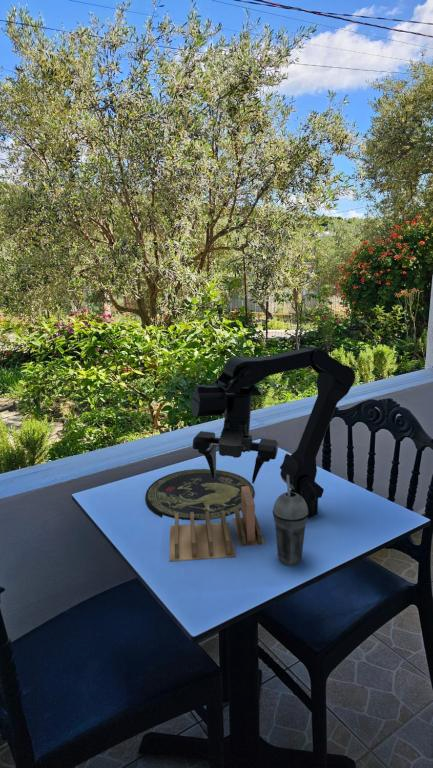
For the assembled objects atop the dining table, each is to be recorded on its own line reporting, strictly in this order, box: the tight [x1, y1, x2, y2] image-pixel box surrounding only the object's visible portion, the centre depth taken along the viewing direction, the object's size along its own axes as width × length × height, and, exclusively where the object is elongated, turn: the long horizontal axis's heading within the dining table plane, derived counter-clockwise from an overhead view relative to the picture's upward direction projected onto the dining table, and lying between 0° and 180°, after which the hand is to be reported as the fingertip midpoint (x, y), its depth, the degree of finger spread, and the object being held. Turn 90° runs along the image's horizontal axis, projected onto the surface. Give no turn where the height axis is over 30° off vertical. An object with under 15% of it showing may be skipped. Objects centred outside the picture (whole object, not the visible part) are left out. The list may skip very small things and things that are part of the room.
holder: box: [232, 509, 266, 547], centre depth 109 cm, size 6×12×3 cm, turn 5°
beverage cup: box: [272, 475, 309, 567], centre depth 96 cm, size 7×7×20 cm
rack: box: [168, 510, 237, 563], centre depth 105 cm, size 14×14×4 cm
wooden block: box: [240, 486, 256, 542], centre depth 108 cm, size 2×9×9 cm, turn 5°
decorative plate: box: [144, 468, 256, 521], centre depth 128 cm, size 30×2×30 cm
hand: (233, 480), depth 108 cm, fingers open, 9 cm apart
